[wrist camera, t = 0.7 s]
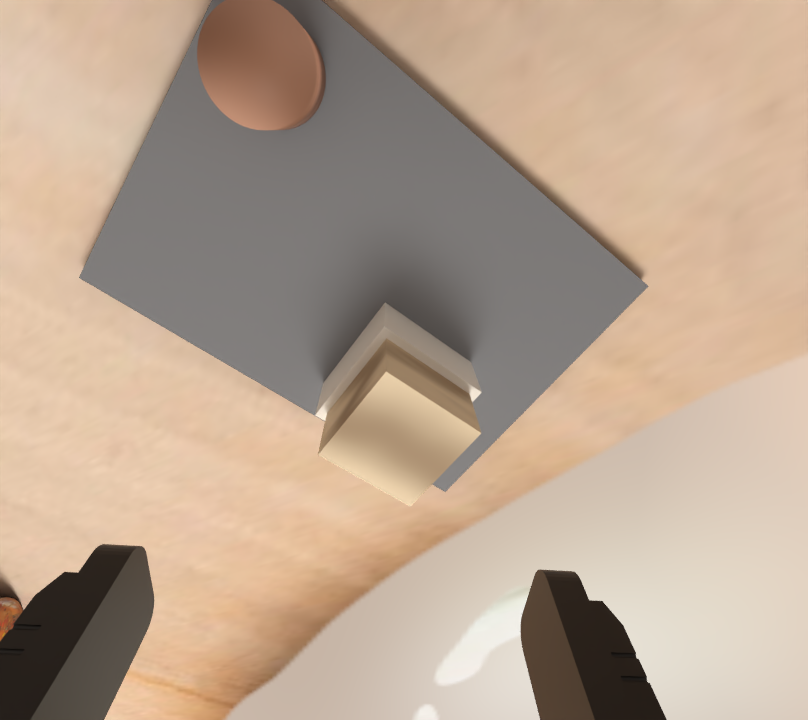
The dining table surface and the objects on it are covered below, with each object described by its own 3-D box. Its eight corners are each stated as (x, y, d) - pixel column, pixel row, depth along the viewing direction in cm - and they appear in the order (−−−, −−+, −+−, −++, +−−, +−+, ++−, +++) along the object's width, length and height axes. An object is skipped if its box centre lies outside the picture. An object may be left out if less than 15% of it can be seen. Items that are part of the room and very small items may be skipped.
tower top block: (386, 338, 26) (386, 371, 23) (469, 394, 28) (481, 433, 25) (326, 413, 28) (317, 455, 25) (407, 461, 30) (410, 506, 27)
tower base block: (384, 302, 30) (384, 326, 26) (471, 362, 32) (481, 392, 28) (323, 382, 32) (315, 415, 28) (407, 434, 34) (409, 470, 30)
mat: (249, -60, 23) (244, -68, 22) (640, 281, 31) (648, 286, 30) (88, 273, 29) (79, 277, 28) (443, 482, 37) (445, 491, 36)
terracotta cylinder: (257, -11, 23) (232, -37, 19) (345, 63, 24) (337, 52, 21) (208, 86, 24) (176, 79, 21) (293, 150, 26) (277, 154, 22)
